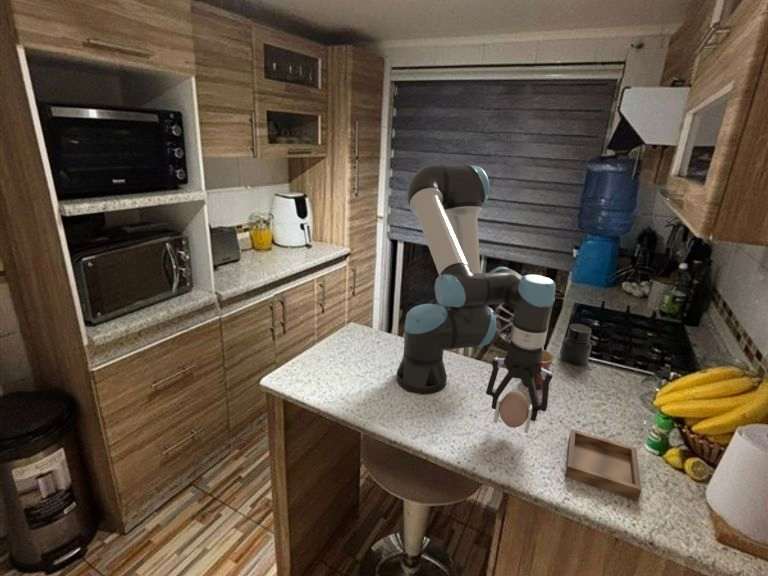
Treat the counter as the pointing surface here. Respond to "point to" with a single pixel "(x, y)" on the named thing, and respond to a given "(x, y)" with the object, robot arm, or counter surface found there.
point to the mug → (545, 363)
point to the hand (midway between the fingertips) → (511, 424)
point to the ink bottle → (576, 345)
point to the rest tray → (603, 464)
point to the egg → (514, 409)
